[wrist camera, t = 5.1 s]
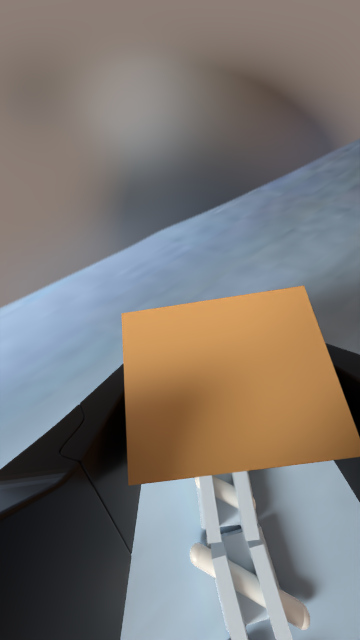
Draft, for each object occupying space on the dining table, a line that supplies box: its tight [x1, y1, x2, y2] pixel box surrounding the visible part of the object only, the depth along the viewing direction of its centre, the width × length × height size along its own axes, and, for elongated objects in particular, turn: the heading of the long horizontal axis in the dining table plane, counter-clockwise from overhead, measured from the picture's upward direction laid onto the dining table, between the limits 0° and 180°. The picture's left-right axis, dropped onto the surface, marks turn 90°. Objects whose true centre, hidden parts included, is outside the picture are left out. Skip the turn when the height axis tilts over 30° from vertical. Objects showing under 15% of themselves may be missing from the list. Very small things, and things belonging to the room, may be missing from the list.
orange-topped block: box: [122, 286, 360, 486], centre depth 10 cm, size 4×5×10 cm
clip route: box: [190, 471, 310, 640], centre depth 12 cm, size 6×14×2 cm, turn 1°
